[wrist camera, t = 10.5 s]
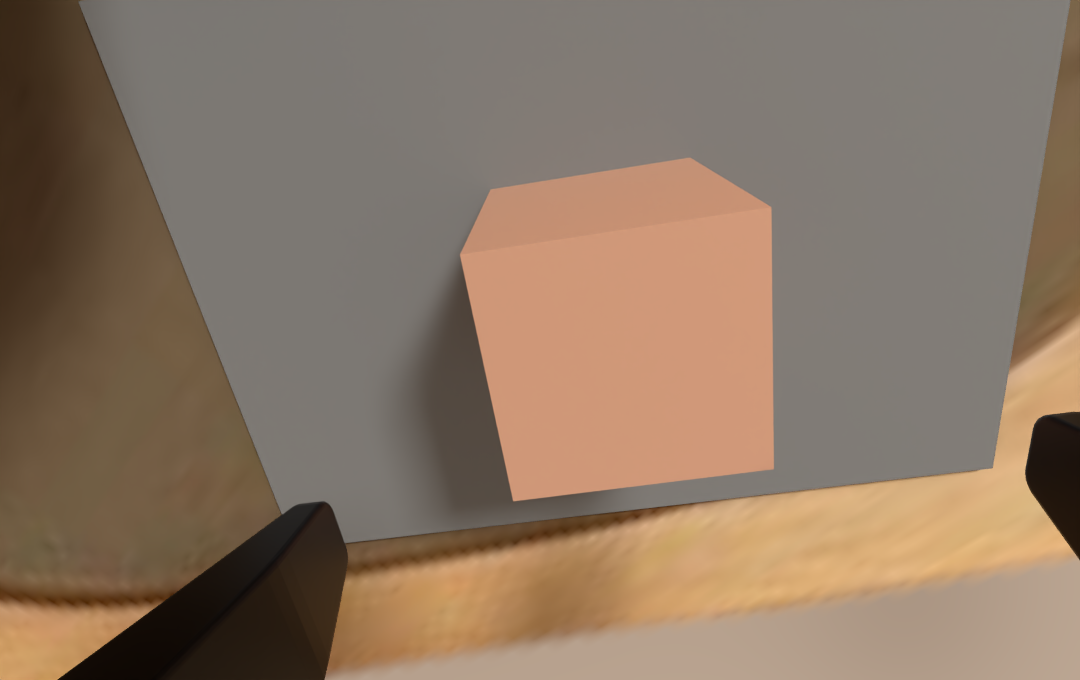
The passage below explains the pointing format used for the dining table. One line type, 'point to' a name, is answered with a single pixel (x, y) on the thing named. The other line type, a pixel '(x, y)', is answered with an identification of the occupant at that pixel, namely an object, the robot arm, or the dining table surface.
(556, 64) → the mat
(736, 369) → the block
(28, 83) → the dining table surface
